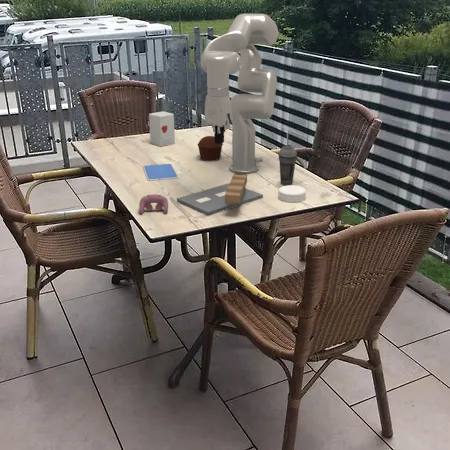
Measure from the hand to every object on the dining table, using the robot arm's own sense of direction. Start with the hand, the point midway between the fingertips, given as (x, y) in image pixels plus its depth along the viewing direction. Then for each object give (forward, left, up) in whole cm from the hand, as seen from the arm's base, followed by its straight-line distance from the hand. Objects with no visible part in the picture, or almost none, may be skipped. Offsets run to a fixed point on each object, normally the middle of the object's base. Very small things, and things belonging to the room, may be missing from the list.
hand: (219, 142), depth 201 cm
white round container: (-17, +21, -20) cm, 34 cm away
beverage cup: (-27, +9, -20) cm, 35 cm away
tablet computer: (+2, -36, -20) cm, 41 cm away
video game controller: (+29, -1, -20) cm, 35 cm away
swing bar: (+1, +11, -15) cm, 19 cm away
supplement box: (-26, -74, -20) cm, 81 cm away
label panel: (+4, +5, -20) cm, 21 cm away
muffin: (-27, -38, -20) cm, 51 cm away
